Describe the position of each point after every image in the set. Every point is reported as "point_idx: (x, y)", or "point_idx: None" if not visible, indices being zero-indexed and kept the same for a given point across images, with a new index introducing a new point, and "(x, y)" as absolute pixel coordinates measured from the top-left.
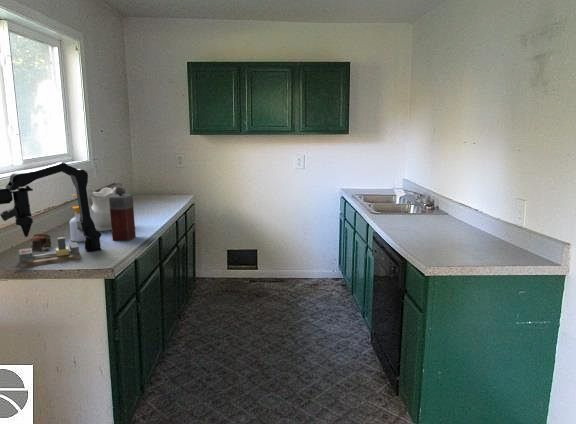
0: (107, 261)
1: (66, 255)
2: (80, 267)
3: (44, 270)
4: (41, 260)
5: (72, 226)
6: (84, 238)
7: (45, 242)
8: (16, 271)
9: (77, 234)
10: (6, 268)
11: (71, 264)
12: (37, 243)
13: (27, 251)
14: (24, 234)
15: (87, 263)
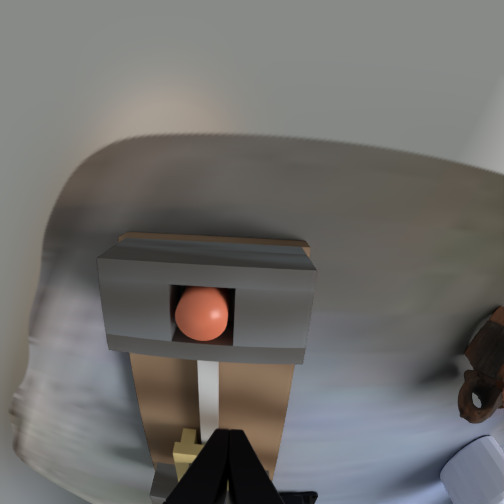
0: (89, 488)
1: None
2: (40, 428)
3: (29, 330)
4: (144, 357)
5: (489, 489)
6: (442, 478)
7: (467, 397)
8: (59, 206)
9: (461, 478)
10: (158, 146)
11: (84, 427)
12: (495, 357)
13: (181, 329)
14: (201, 452)
15: (82, 457)
